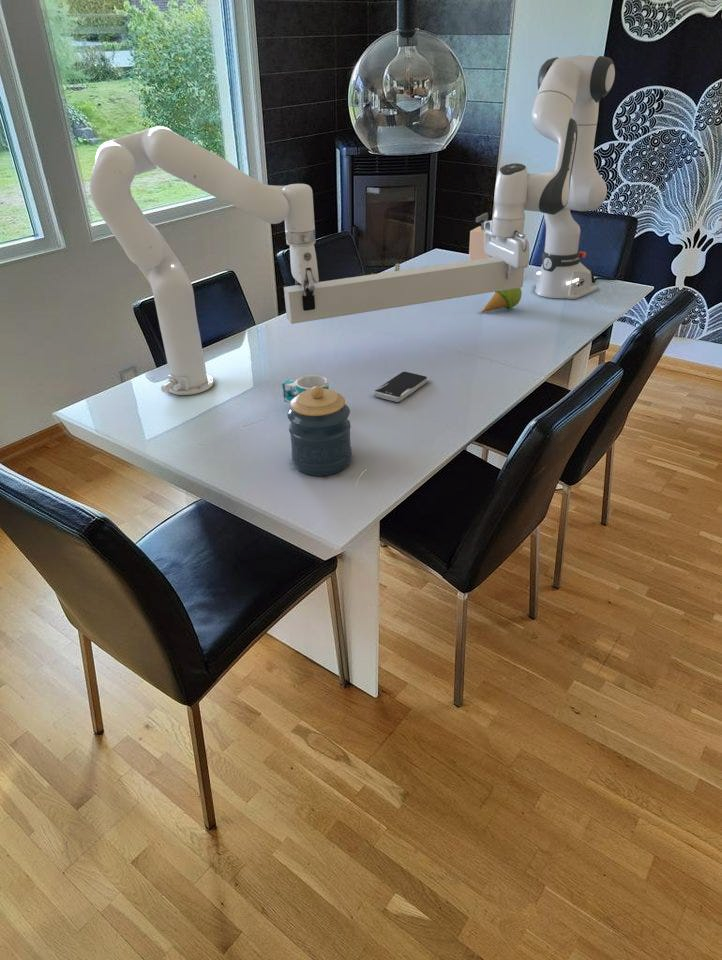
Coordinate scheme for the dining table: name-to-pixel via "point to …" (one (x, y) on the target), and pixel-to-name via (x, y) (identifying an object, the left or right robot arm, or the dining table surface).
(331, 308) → the post
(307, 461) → the canister
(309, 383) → the mug
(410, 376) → the smartphone
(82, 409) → the dining table surface
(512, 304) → the toy
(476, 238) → the soap dispenser
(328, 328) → the dining table surface
